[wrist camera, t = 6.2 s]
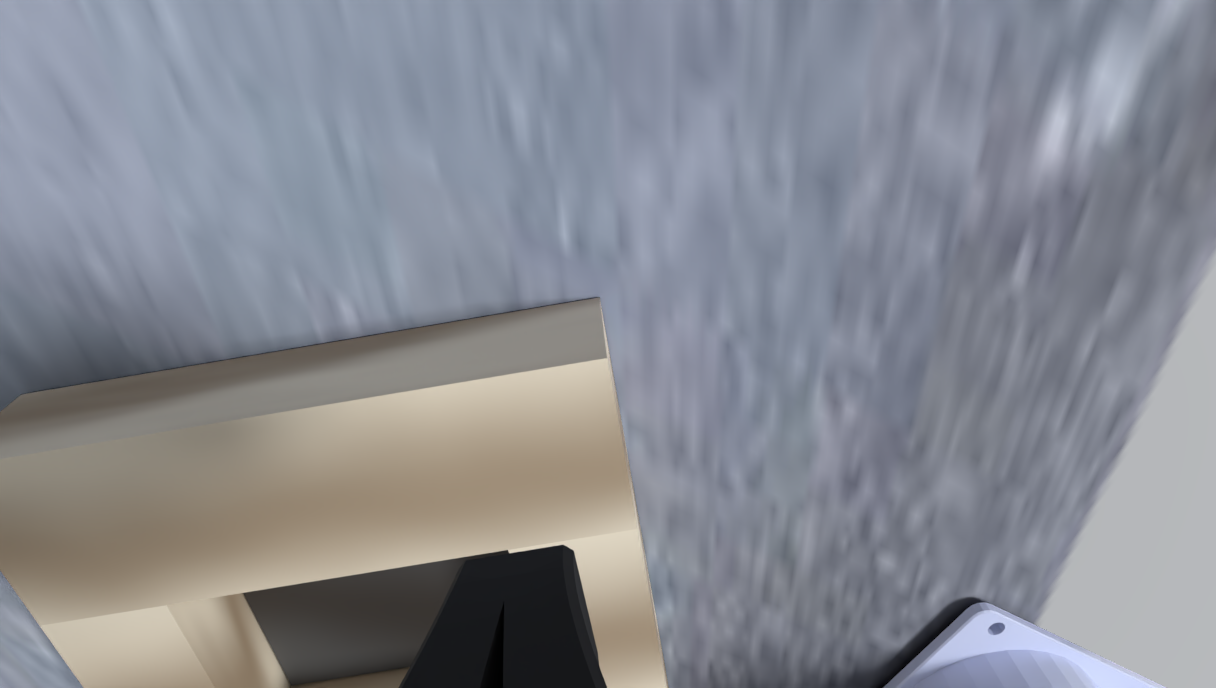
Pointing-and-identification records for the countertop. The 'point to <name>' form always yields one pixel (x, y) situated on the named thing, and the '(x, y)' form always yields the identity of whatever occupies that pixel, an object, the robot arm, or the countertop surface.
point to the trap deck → (322, 503)
